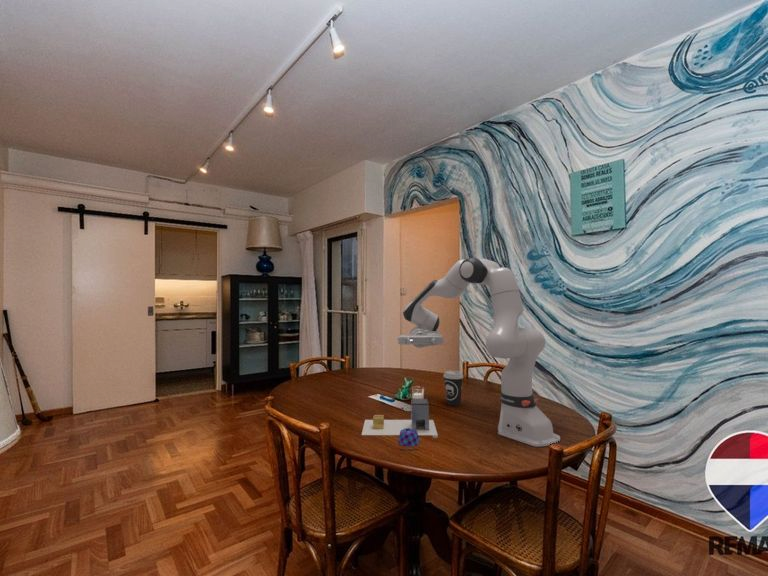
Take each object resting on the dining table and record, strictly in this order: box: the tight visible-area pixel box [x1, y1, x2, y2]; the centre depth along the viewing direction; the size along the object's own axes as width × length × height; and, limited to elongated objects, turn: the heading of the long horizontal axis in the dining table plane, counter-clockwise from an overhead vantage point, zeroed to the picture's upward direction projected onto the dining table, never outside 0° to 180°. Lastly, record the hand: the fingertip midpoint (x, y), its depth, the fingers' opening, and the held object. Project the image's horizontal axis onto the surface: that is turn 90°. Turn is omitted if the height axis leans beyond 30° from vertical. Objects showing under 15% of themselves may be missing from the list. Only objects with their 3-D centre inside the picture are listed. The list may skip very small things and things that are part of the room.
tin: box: [410, 398, 430, 430], centre depth 140 cm, size 6×6×10 cm
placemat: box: [361, 419, 439, 439], centre depth 140 cm, size 28×16×1 cm, turn 88°
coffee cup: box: [442, 370, 464, 407], centre depth 171 cm, size 10×10×15 cm
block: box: [372, 414, 385, 429], centre depth 140 cm, size 4×4×4 cm
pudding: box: [397, 428, 421, 452], centre depth 126 cm, size 12×12×5 cm
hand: (421, 341), depth 155 cm, fingers open, 8 cm apart
